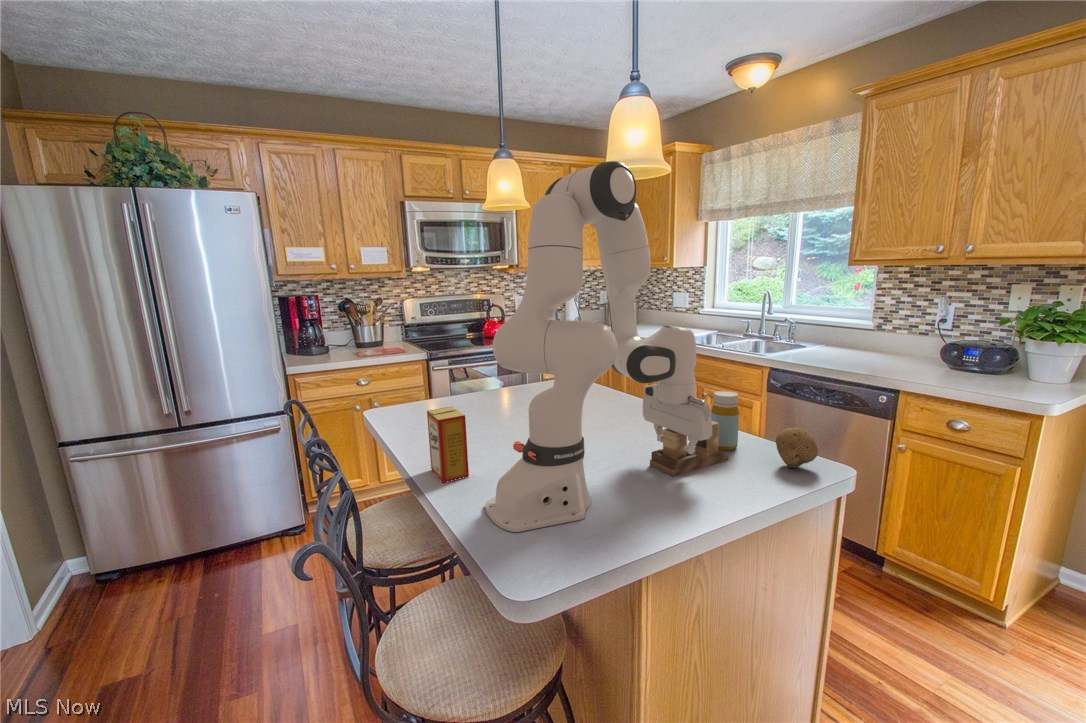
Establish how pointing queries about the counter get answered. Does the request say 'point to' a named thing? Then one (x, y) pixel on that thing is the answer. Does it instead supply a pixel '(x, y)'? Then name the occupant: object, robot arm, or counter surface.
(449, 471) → the baking soda box
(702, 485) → the counter surface
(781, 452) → the natural sponge
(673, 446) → the block
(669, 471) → the wooden block holder
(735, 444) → the bottle
